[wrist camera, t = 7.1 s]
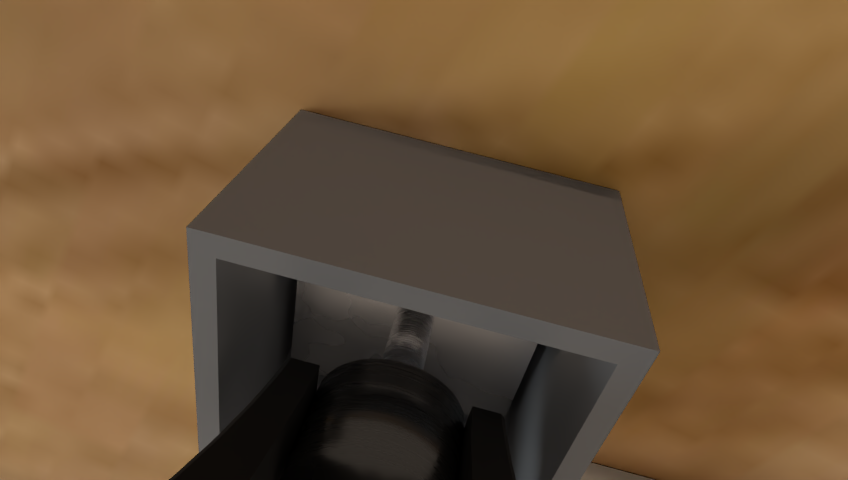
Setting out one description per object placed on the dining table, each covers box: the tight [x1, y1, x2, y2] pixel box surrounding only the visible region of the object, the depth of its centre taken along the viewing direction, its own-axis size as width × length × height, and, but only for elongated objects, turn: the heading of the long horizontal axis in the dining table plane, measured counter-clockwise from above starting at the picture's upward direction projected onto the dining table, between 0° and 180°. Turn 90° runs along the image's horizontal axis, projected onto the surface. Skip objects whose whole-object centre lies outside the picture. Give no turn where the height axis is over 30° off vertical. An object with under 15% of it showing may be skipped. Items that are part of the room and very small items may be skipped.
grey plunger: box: [280, 280, 538, 480], centre depth 13 cm, size 6×6×6 cm
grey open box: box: [186, 110, 660, 480], centre depth 14 cm, size 8×8×6 cm
